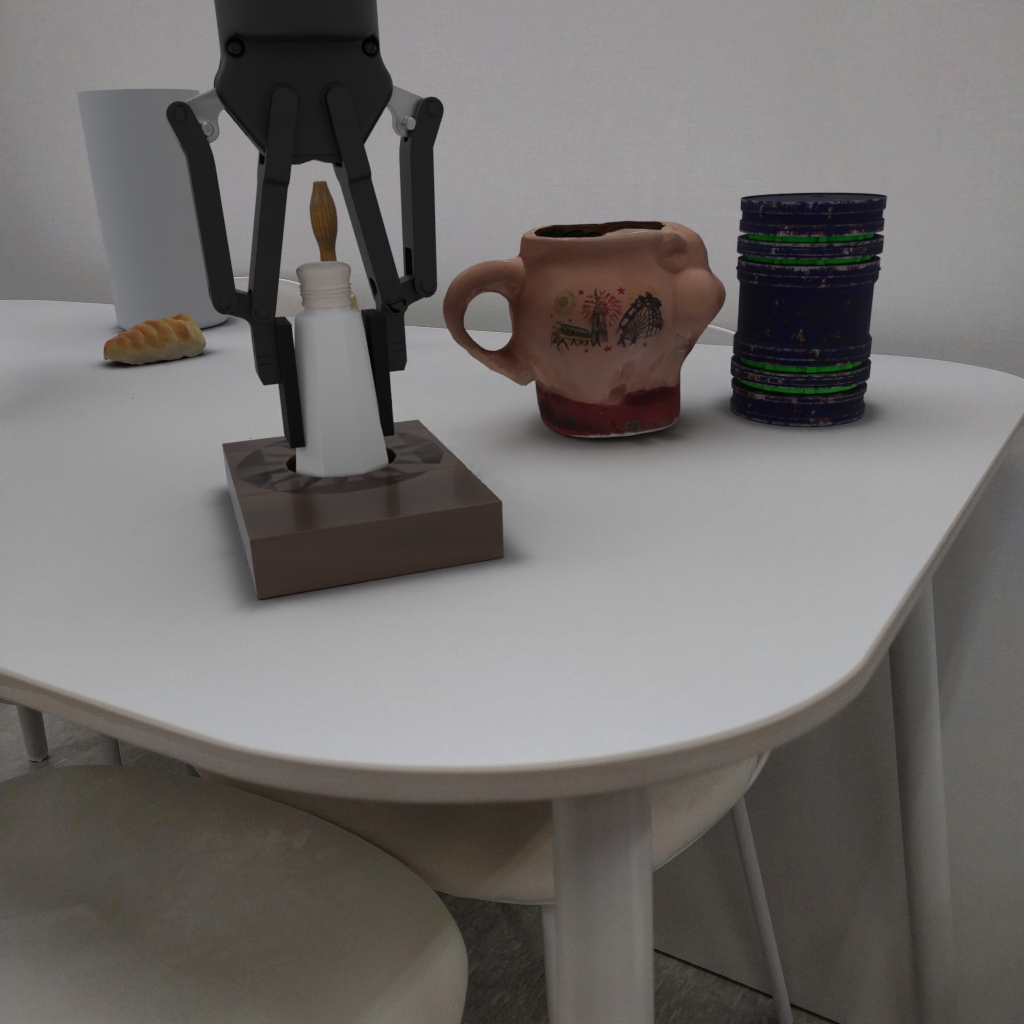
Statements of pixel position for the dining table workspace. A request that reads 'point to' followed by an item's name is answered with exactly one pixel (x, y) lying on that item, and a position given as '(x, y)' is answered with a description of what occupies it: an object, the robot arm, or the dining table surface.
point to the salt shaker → (334, 378)
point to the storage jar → (805, 306)
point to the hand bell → (325, 224)
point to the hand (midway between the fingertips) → (338, 434)
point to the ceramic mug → (597, 321)
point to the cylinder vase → (145, 206)
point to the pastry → (157, 341)
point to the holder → (358, 514)
